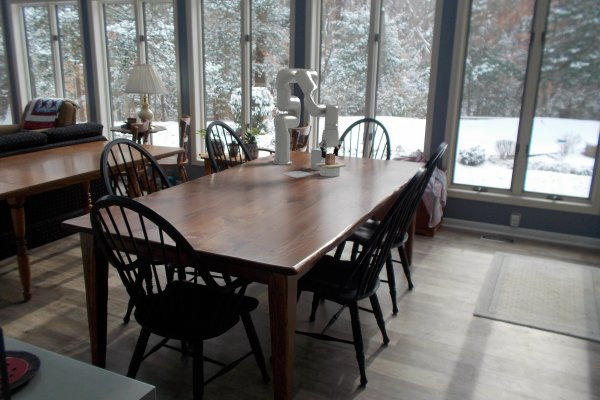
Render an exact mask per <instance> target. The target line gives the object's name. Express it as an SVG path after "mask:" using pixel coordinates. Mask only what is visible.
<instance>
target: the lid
mask: <svg viewBox="0 0 600 400" xmlns="http://www.w3.org/2000/svg"><path fill="white" fill-rule="evenodd" d="M314 166H318V167H322V168H327V169H334V168H340V169H341V168H344V167H346V166H347V165H346V164H344V163H340V162H336V156H335V154H334V153H332V152H330V153H328V152H327V154H326V158H325V162H322V163H316V164H314Z"/></svg>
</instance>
